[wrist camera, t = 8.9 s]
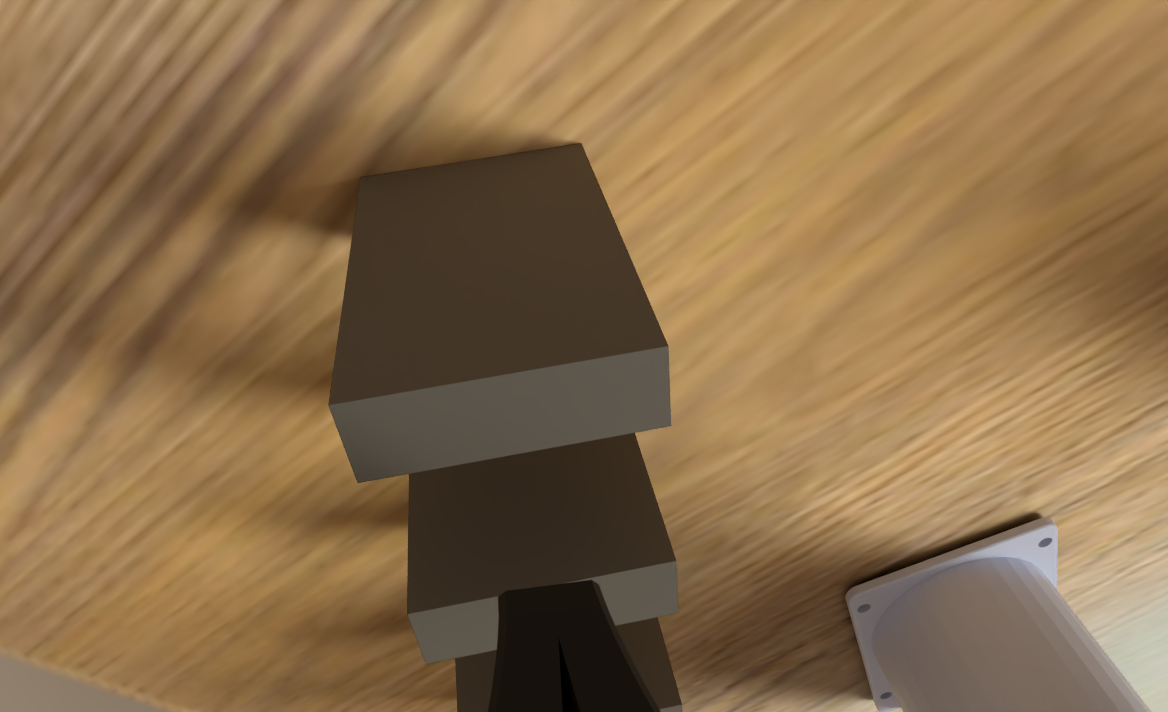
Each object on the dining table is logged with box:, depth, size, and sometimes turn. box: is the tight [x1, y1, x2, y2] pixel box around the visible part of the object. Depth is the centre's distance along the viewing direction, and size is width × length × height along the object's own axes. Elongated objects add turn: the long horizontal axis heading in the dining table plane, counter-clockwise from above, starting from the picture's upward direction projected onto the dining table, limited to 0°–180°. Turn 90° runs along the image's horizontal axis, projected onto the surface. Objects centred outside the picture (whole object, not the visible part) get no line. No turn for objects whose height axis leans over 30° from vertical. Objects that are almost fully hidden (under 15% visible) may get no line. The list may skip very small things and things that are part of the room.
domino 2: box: [455, 617, 682, 712], centre depth 21 cm, size 2×5×8 cm, turn 95°
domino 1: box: [407, 433, 678, 664], centre depth 18 cm, size 2×5×8 cm, turn 95°
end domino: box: [329, 144, 671, 483], centre depth 15 cm, size 2×5×8 cm, turn 95°
